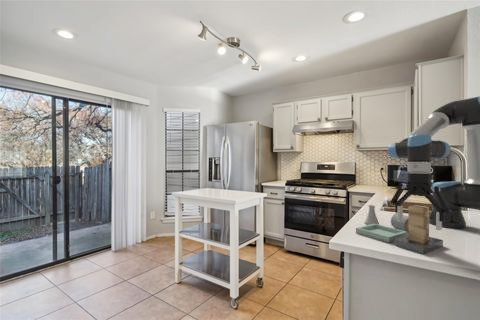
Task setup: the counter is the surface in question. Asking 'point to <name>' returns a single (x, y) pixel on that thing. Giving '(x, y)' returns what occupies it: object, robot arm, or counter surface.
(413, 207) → the wooden peg
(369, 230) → the green tray
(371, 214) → the flask
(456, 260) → the counter surface
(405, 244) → the gray slotted block
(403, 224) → the grey cylinder
